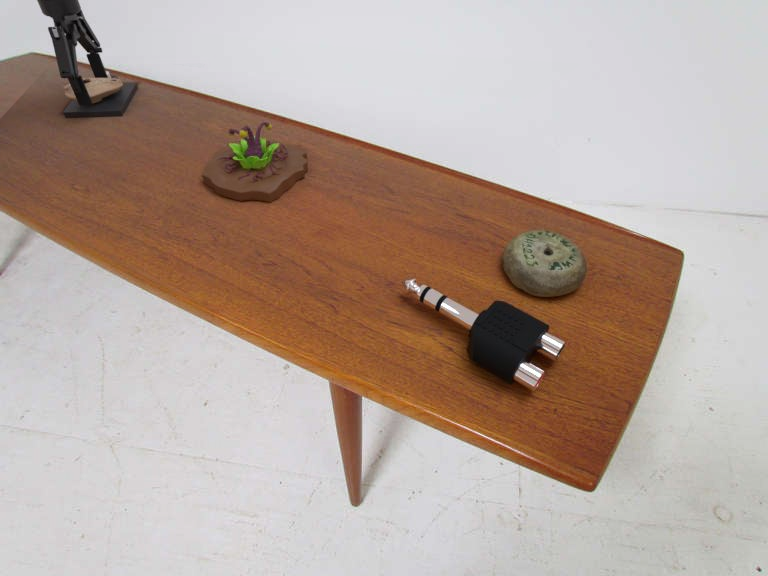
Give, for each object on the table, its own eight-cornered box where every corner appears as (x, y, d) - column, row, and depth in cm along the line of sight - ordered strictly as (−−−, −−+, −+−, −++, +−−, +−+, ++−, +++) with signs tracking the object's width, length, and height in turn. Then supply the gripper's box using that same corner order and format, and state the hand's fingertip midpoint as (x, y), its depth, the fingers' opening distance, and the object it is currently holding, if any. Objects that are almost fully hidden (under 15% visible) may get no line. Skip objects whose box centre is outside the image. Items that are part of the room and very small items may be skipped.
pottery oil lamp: (129, 99, 121) (109, 79, 115) (85, 121, 121) (63, 102, 115) (121, 74, 124) (101, 53, 118) (78, 95, 124) (56, 75, 118)
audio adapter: (536, 380, 61) (379, 287, 72) (526, 403, 65) (379, 312, 76) (573, 328, 67) (424, 250, 78) (562, 352, 71) (421, 274, 82)
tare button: (96, 84, 125) (93, 76, 123) (100, 79, 127) (97, 70, 125) (110, 84, 125) (107, 75, 123) (113, 78, 127) (110, 70, 126)
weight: (570, 312, 77) (580, 290, 73) (488, 281, 81) (493, 259, 78) (590, 261, 85) (600, 239, 82) (515, 236, 90) (521, 213, 86)
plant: (187, 190, 98) (171, 138, 90) (236, 143, 111) (226, 94, 103) (280, 210, 94) (271, 157, 86) (320, 158, 107) (315, 108, 99)
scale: (65, 118, 118) (58, 104, 115) (87, 88, 129) (81, 75, 127) (122, 116, 119) (117, 102, 117) (138, 87, 131) (134, 73, 128)
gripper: (57, -23, 113) (94, 72, 128) (10, 10, 95) (60, 116, 110) (91, -24, 113) (124, 72, 128) (51, 9, 96) (95, 115, 111)
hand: (94, 92), depth 119 cm, fingers open, 12 cm apart
